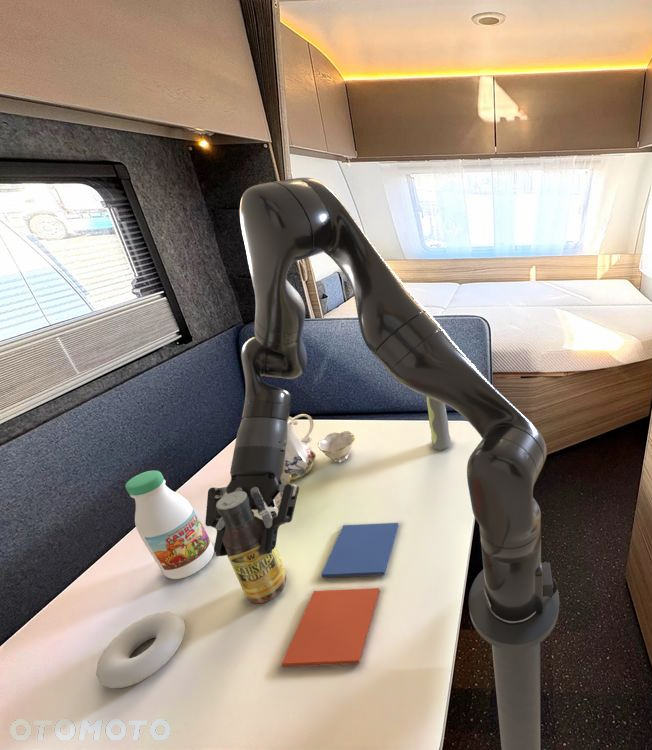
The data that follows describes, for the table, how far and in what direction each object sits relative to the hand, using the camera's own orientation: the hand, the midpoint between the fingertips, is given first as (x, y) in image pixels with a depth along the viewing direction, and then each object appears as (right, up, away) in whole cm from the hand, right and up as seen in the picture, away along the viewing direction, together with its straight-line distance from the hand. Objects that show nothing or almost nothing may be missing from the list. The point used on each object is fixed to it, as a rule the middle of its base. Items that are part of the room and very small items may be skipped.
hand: (244, 554), depth 60 cm
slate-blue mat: (+14, -5, +12) cm, 19 cm away
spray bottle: (+25, +9, +41) cm, 49 cm away
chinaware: (-8, +4, +33) cm, 34 cm away
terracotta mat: (+14, -11, 0) cm, 18 cm away
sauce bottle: (0, -9, +6) cm, 11 cm away
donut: (-12, -14, -3) cm, 19 cm away
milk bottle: (-18, -7, +12) cm, 22 cm away
